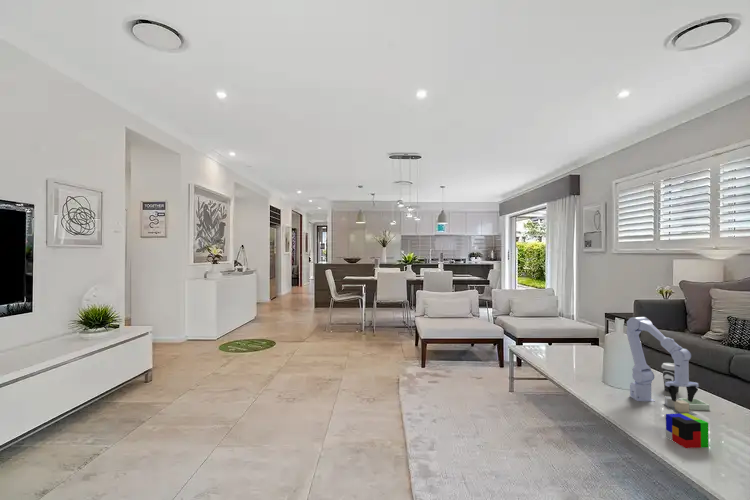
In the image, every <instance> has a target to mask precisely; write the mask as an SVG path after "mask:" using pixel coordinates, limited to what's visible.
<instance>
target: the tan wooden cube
mask: <svg viewBox="0 0 750 500" xmlns="http://www.w3.org/2000/svg"><path fill="white" fill-rule="evenodd" d="M675 410H677V411H679V412H684V413H689V411H690V409H689V403H687V402H685V401H683V400H678V399H677V400H676V402H675Z"/></svg>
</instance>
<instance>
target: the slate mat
mask: <svg viewBox="0 0 750 500" xmlns="http://www.w3.org/2000/svg"><path fill="white" fill-rule="evenodd" d="M662 406H664V407H666V408H668V409H670V410H672V411H673V412H675V414H683V413H684V412H679V411H677V410H675V407H667V406H666V405H665V403H662ZM688 414H690V415H692V416H697V414H696V413H695V412H693V411H692V410H689V413H688Z"/></svg>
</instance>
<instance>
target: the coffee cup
mask: <svg viewBox="0 0 750 500" xmlns="http://www.w3.org/2000/svg"><path fill="white" fill-rule="evenodd" d="M660 368H661V370H662V377H663V388H664V391H666V392H669V390H668V389H667V387H666V386H665V382H670V381H675V369H674V362H673V363H671V362H663V363H662V364H661V367H660ZM675 388H676V389H677V393H679V391H680V390H679V389H680V387H679V386H675Z"/></svg>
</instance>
